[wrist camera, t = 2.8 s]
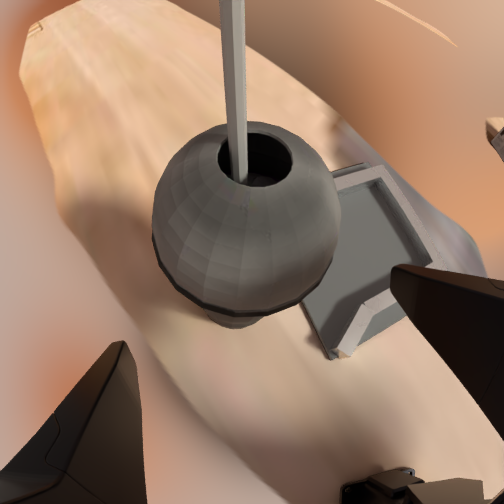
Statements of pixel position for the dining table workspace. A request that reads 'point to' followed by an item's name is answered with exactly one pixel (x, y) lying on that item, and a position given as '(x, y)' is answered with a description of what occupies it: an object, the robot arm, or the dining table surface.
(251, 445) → the dining table surface
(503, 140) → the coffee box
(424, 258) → the flared docking tray
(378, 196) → the gray raised edge tray
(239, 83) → the beverage cup
